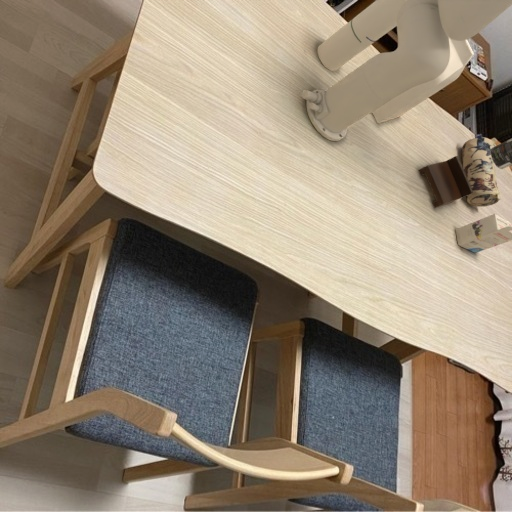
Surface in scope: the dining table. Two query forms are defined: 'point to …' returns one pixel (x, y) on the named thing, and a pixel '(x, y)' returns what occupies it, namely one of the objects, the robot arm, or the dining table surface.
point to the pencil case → (480, 171)
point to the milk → (427, 84)
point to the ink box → (484, 233)
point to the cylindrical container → (359, 33)
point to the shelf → (447, 181)
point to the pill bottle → (502, 154)
